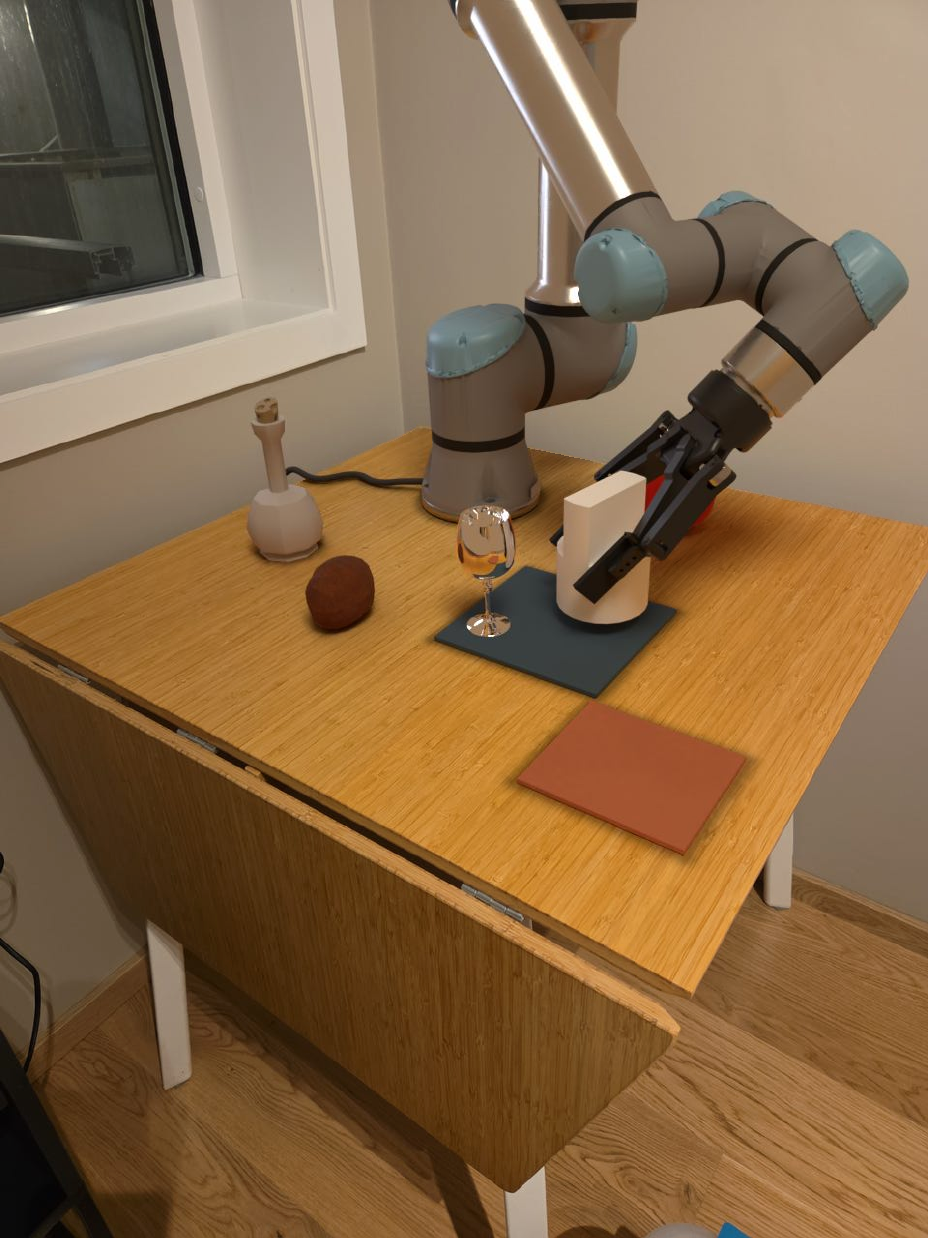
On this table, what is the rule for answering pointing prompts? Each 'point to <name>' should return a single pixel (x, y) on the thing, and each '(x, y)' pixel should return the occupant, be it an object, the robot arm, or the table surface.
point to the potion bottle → (280, 498)
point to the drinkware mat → (555, 635)
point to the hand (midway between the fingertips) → (570, 570)
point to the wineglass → (486, 559)
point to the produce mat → (634, 775)
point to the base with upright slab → (602, 548)
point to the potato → (340, 591)
